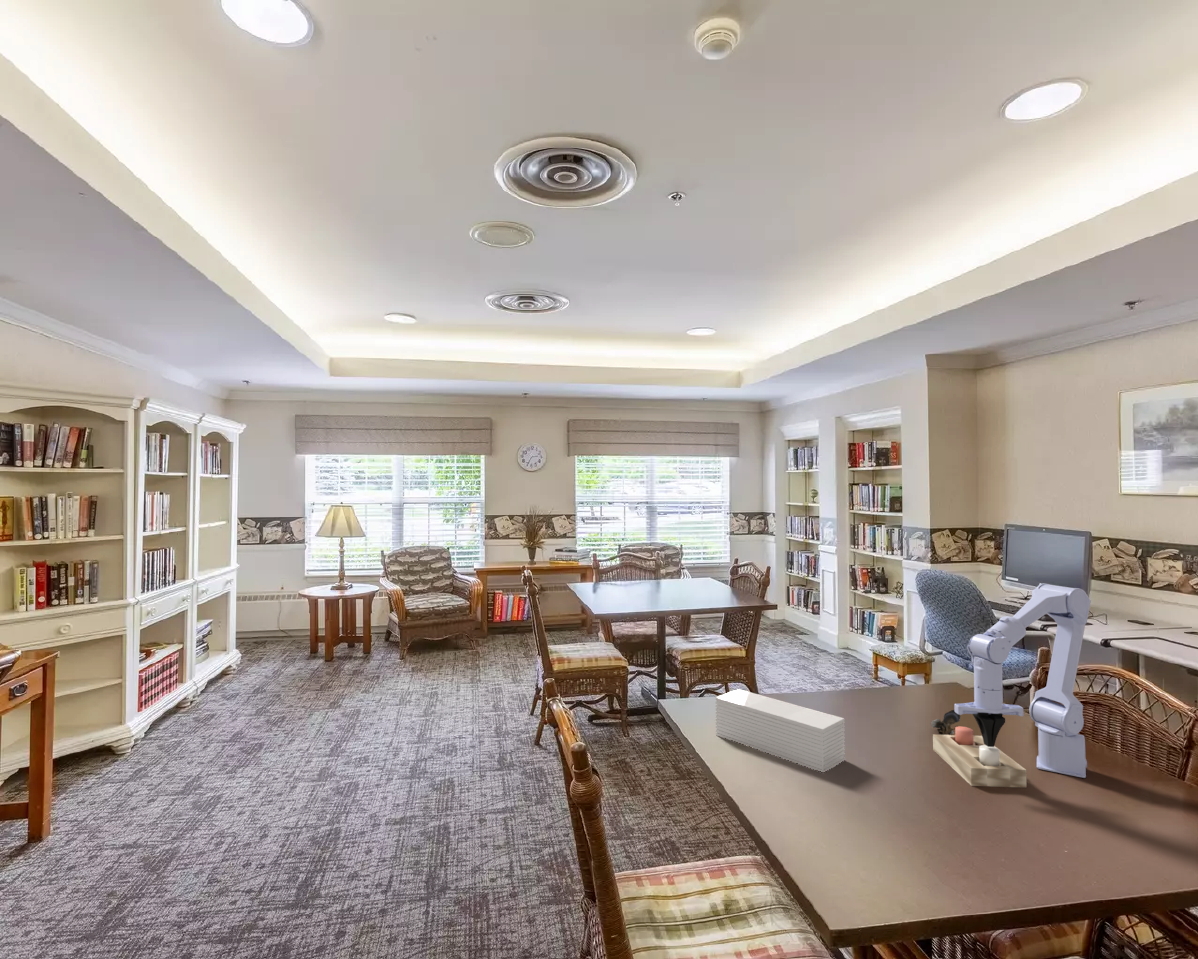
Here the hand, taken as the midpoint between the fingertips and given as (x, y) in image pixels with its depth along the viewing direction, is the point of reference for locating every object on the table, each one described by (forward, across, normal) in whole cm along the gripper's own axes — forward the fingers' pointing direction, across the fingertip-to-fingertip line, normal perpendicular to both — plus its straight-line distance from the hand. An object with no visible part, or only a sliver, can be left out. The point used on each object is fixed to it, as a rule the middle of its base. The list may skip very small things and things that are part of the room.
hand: (988, 745), depth 149 cm
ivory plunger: (+5, 0, 0) cm, 5 cm away
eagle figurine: (+8, -2, -27) cm, 28 cm away
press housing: (+8, 0, -6) cm, 10 cm away
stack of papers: (+8, +46, -15) cm, 49 cm away
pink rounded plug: (+5, 0, -12) cm, 13 cm away
